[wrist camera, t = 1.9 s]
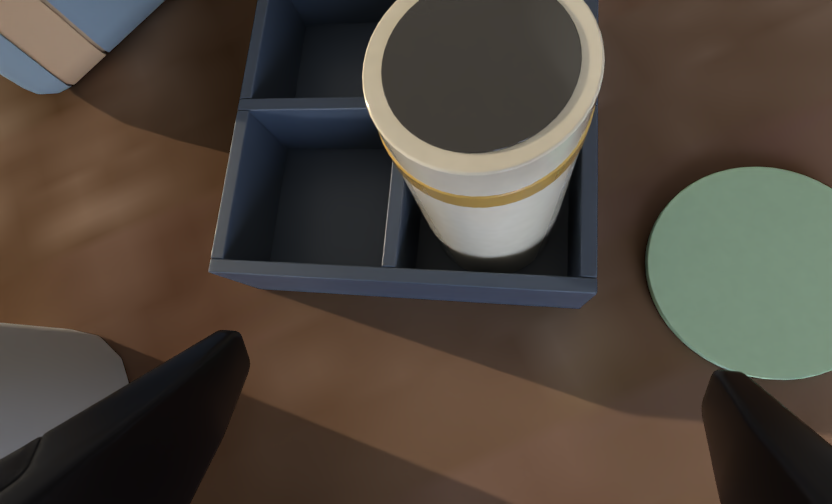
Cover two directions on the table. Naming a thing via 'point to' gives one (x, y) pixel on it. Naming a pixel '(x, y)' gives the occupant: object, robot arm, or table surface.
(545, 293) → the organizer
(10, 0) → the blue rounded cube
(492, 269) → the pen pot
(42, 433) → the cup
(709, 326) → the coaster
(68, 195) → the table surface
